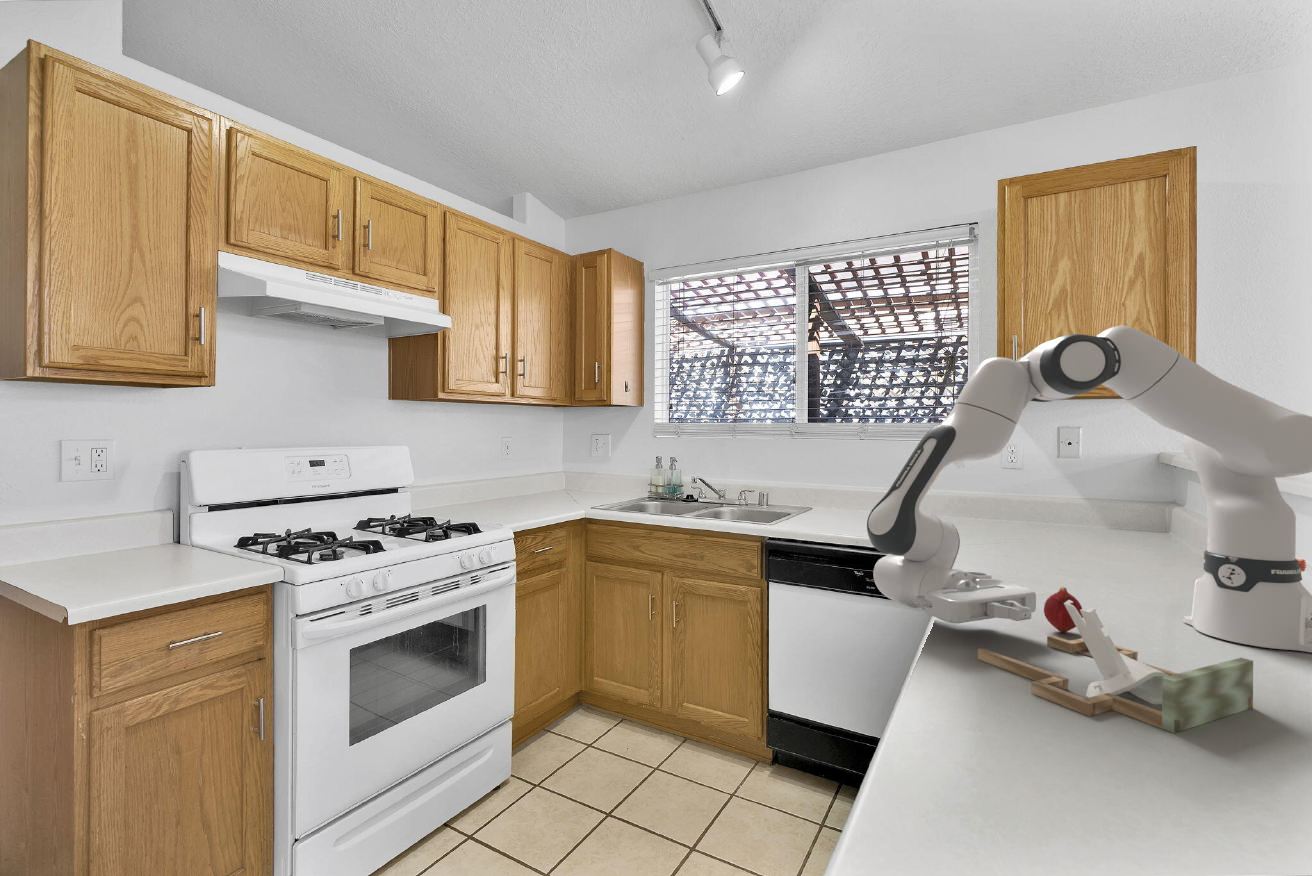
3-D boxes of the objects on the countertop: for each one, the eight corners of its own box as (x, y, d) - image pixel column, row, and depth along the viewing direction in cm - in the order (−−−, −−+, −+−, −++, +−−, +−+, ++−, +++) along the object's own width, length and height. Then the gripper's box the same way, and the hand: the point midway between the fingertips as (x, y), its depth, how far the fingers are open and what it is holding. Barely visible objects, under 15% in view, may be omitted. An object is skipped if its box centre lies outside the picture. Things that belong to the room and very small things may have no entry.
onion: (1089, 639, 105) (1090, 592, 105) (1052, 636, 106) (1052, 590, 106) (1073, 628, 111) (1074, 584, 111) (1038, 626, 112) (1038, 582, 112)
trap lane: (1069, 641, 104) (1070, 605, 104) (1271, 701, 80) (1271, 655, 80) (956, 663, 93) (956, 623, 93) (1150, 740, 70) (1151, 687, 70)
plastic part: (1175, 705, 79) (1177, 615, 79) (1100, 705, 79) (1102, 614, 79) (1128, 682, 87) (1130, 599, 87) (1059, 681, 87) (1061, 599, 86)
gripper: (907, 581, 105) (979, 601, 93) (990, 572, 114) (1066, 589, 101) (907, 618, 105) (978, 643, 93) (989, 606, 114) (1066, 628, 101)
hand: (1025, 615), depth 97 cm, fingers closed
